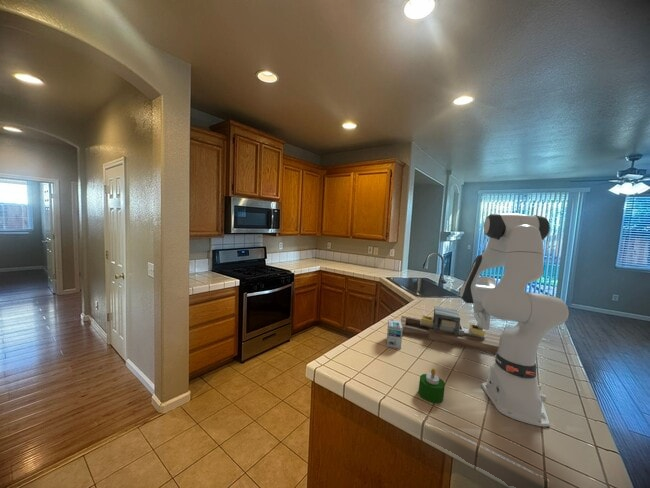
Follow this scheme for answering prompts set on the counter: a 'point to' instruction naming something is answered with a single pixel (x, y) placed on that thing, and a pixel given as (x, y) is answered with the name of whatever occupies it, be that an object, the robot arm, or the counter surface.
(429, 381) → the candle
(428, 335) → the tunnel deck
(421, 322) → the sled
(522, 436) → the counter surface
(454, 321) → the maple block
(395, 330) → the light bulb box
